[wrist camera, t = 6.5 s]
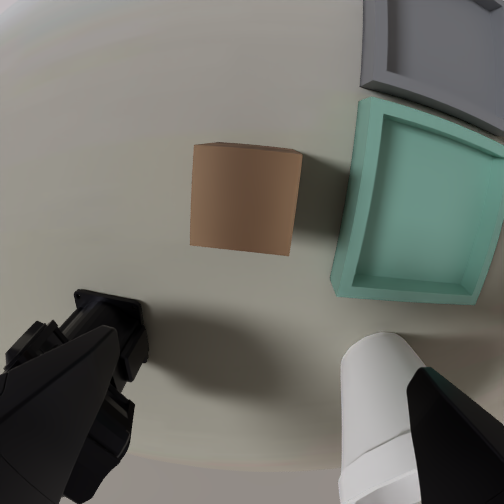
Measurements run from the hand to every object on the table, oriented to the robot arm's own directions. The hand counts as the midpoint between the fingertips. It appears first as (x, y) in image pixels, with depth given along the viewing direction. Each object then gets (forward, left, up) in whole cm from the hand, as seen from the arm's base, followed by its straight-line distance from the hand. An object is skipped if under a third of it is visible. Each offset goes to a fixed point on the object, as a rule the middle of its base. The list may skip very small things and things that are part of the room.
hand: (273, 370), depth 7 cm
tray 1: (+10, +16, -12) cm, 23 cm away
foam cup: (+10, -11, -13) cm, 19 cm away
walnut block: (-2, +3, -12) cm, 13 cm away
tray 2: (+10, +3, -12) cm, 16 cm away
